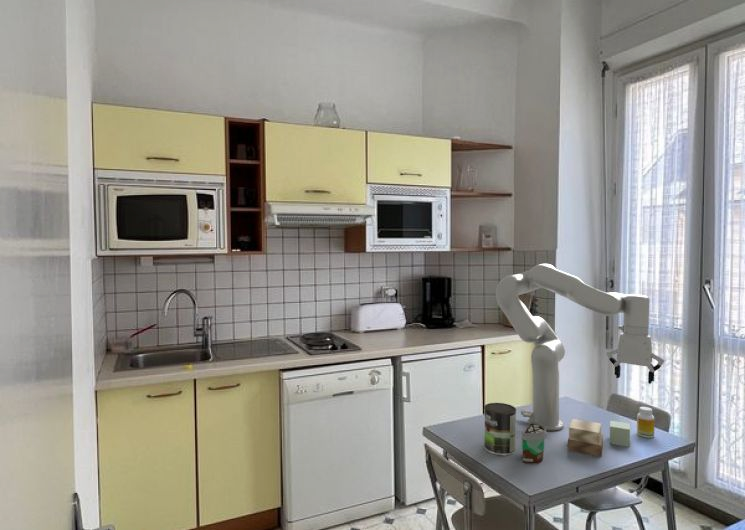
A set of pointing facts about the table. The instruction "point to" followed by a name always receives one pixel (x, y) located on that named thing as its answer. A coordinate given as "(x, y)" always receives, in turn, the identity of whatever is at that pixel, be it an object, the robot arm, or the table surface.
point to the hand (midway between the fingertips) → (633, 380)
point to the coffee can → (500, 429)
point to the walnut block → (586, 447)
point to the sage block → (620, 433)
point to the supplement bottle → (645, 422)
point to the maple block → (585, 431)
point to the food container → (533, 443)
